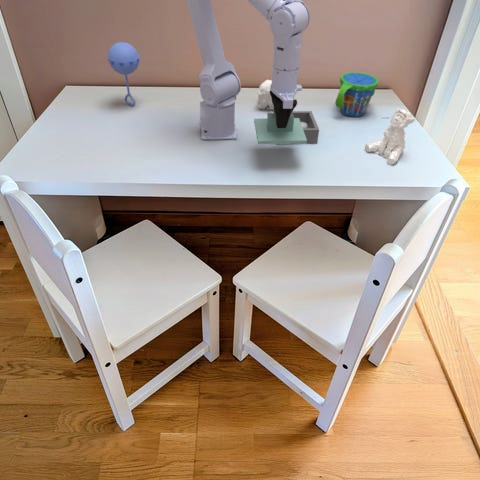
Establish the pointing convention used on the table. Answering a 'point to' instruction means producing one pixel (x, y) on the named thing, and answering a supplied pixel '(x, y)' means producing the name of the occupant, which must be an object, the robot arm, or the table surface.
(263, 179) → the table surface
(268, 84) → the white lumpy piece
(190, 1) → the robot arm
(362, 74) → the snack cup
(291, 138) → the lid
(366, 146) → the sitting furry creature
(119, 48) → the baby rattle
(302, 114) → the storage box
